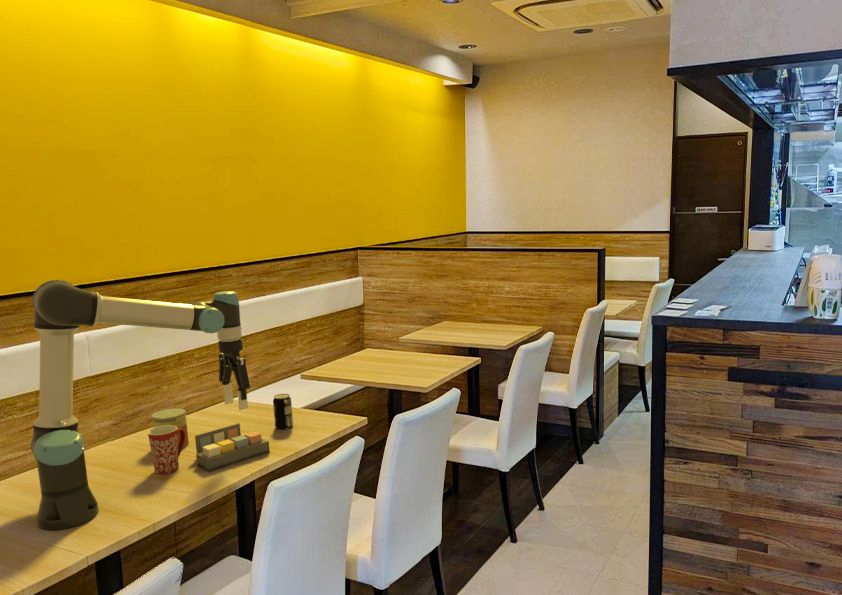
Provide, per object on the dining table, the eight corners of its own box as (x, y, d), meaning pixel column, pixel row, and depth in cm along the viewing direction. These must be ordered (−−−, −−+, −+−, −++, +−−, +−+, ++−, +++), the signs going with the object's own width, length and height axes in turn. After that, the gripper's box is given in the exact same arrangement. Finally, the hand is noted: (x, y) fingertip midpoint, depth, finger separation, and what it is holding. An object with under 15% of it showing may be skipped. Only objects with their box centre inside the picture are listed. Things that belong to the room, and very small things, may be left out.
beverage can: (274, 425, 267) (271, 394, 265) (292, 423, 269) (289, 392, 267) (276, 431, 261) (273, 399, 259) (294, 428, 263) (291, 397, 261)
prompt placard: (198, 459, 236) (196, 436, 235) (197, 458, 237) (194, 435, 236) (241, 445, 247) (239, 423, 246) (240, 445, 248) (238, 423, 247)
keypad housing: (208, 472, 225) (207, 460, 224) (197, 465, 231) (196, 454, 230) (269, 452, 239) (268, 441, 239) (257, 446, 245) (256, 435, 244)
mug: (164, 477, 222) (159, 436, 220) (145, 472, 227) (141, 432, 225) (196, 463, 233) (192, 423, 231) (177, 459, 238) (173, 420, 235)
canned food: (148, 451, 246) (145, 418, 244) (165, 440, 257) (162, 408, 255) (178, 452, 244) (175, 418, 242) (194, 440, 255) (191, 408, 253)
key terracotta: (251, 447, 237) (250, 437, 236) (245, 444, 240) (244, 434, 239) (261, 443, 239) (261, 433, 239) (255, 441, 242) (255, 431, 242)
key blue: (237, 451, 233) (236, 441, 233) (231, 448, 236) (230, 438, 236) (248, 448, 236) (247, 437, 235) (242, 445, 239) (241, 435, 238)
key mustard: (223, 455, 230) (222, 445, 229) (217, 452, 233) (216, 442, 232) (234, 452, 233) (234, 442, 232) (229, 449, 236) (228, 439, 235)
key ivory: (209, 460, 227) (208, 449, 226) (203, 457, 230) (202, 446, 229) (220, 456, 229) (219, 446, 229) (215, 453, 232) (214, 443, 232)
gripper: (257, 341, 225) (263, 409, 228) (224, 333, 241) (230, 397, 244) (235, 345, 220) (242, 415, 223) (203, 337, 236) (210, 402, 239)
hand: (236, 406), depth 234 cm, fingers open, 9 cm apart
